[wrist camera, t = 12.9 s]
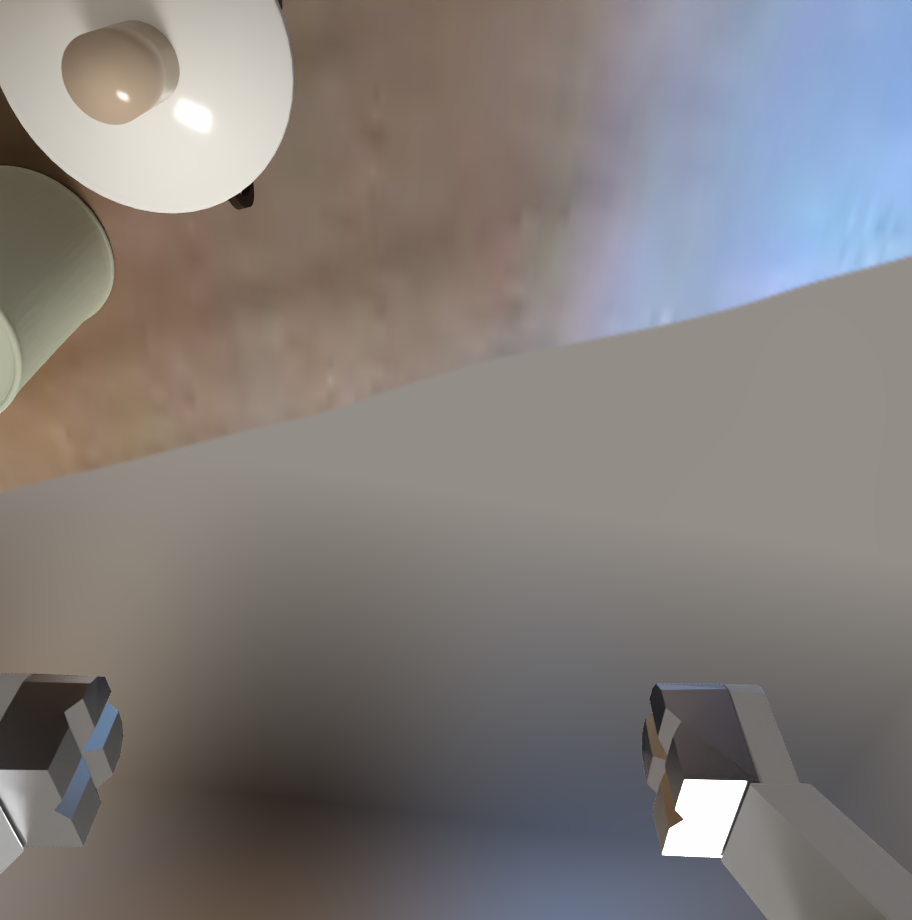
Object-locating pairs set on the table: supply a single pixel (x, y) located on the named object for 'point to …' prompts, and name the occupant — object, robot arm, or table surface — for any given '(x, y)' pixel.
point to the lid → (151, 93)
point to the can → (45, 272)
